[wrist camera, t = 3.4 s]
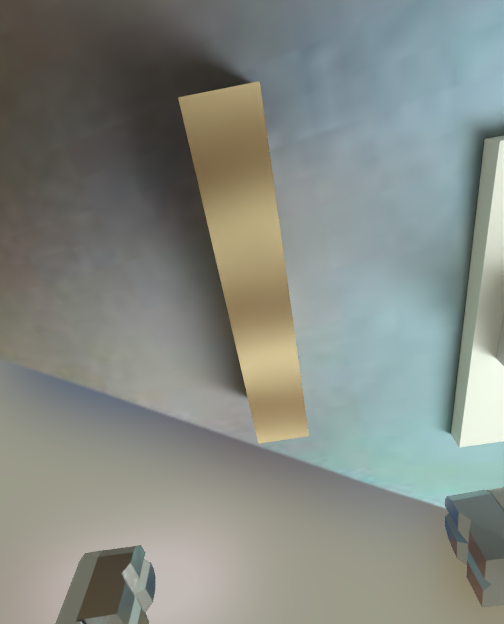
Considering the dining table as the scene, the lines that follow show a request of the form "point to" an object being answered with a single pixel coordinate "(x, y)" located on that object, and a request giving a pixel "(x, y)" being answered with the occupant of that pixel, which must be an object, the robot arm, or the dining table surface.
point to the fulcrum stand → (484, 314)
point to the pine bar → (248, 250)
